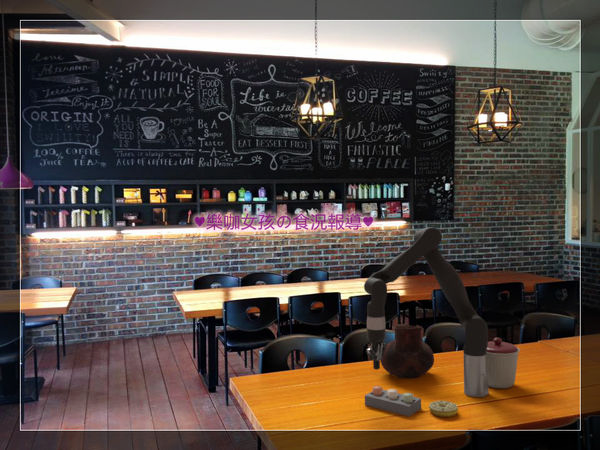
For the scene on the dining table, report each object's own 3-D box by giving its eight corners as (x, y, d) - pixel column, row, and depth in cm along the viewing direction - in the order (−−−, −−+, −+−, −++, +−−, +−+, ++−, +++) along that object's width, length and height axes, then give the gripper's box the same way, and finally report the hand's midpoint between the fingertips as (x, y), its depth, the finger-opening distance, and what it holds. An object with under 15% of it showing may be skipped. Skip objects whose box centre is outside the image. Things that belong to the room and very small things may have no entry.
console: (421, 408, 209) (421, 398, 209) (409, 416, 201) (408, 406, 201) (377, 397, 222) (377, 388, 222) (364, 405, 214) (364, 395, 214)
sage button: (415, 404, 207) (415, 394, 207) (410, 407, 204) (410, 397, 204) (406, 402, 210) (406, 392, 210) (401, 405, 207) (401, 395, 207)
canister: (524, 393, 222) (523, 343, 222) (479, 391, 226) (478, 342, 225) (515, 378, 240) (515, 333, 239) (474, 377, 244) (473, 332, 243)
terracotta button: (384, 397, 216) (384, 387, 216) (379, 400, 213) (379, 389, 213) (376, 395, 219) (375, 385, 219) (370, 398, 216) (370, 387, 216)
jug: (430, 367, 261) (429, 317, 260) (438, 384, 236) (437, 329, 235) (379, 366, 263) (378, 317, 263) (382, 384, 238) (380, 329, 238)
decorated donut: (444, 406, 211) (443, 396, 211) (463, 415, 202) (463, 405, 202) (423, 411, 207) (423, 401, 206) (442, 421, 197) (442, 411, 197)
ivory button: (399, 400, 212) (399, 390, 212) (394, 403, 209) (394, 393, 209) (390, 398, 214) (390, 388, 214) (385, 401, 211) (385, 391, 211)
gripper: (375, 331, 208) (376, 374, 208) (392, 325, 218) (392, 366, 218) (359, 328, 212) (360, 371, 213) (376, 322, 222) (377, 363, 223)
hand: (376, 368), depth 216 cm, fingers closed
